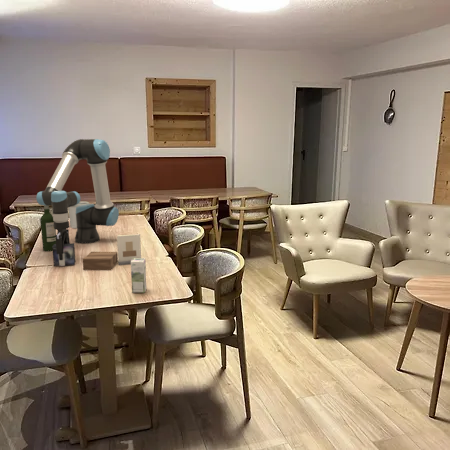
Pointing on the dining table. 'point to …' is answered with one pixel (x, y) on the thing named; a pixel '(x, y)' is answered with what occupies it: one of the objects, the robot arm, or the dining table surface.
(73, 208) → the utensil holder
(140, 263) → the syrup box
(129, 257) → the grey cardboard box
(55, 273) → the dining table surface
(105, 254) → the walnut block
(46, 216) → the wine bottle
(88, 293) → the dining table surface
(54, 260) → the small box
